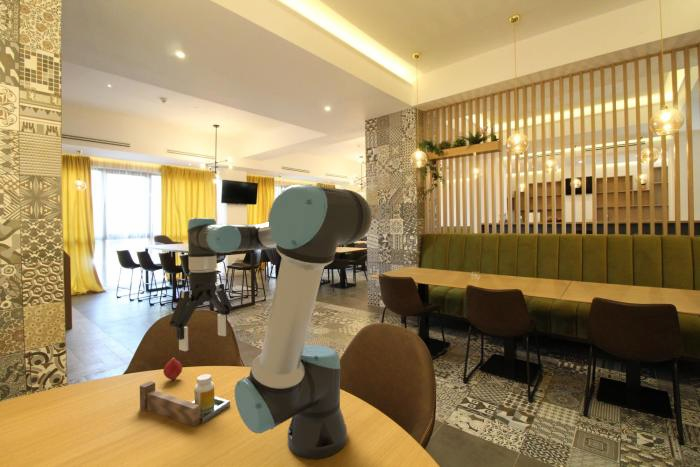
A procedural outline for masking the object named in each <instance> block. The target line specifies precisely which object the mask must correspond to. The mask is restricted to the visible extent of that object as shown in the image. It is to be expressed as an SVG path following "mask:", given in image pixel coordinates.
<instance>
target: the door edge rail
mask: <svg viewBox="0 0 700 467" xmlns="http://www.w3.org/2000/svg"><path fill="white" fill-rule="evenodd" d="M192 402H193V401H188V400H186V399H182V398H179V397H176V396H172V395H170V394H166V393H164V392H160V391H157V390H156V382H154V381H151V380H149V381H147V382H145V383H143V384H140V385H139V409H140V410H141V411H142V410H143V411H150V412H152V413H155V414H158V415H160V416H162V417H166V418H169V419H171V420H175V421H177V422H180V423H182V424H186V425H188V426H190V427H193V428H195V427H196V426H198V425H200V424H201V423H200V405H198V404H195V403H192Z"/></svg>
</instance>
